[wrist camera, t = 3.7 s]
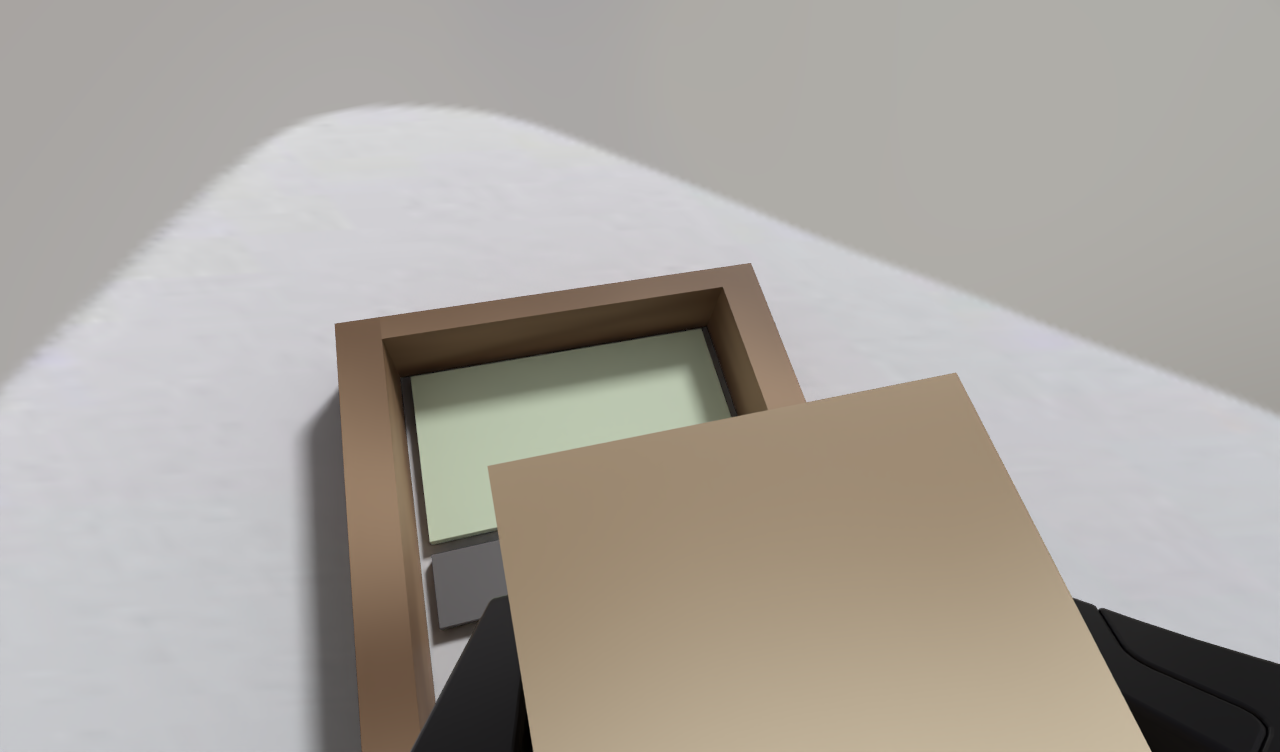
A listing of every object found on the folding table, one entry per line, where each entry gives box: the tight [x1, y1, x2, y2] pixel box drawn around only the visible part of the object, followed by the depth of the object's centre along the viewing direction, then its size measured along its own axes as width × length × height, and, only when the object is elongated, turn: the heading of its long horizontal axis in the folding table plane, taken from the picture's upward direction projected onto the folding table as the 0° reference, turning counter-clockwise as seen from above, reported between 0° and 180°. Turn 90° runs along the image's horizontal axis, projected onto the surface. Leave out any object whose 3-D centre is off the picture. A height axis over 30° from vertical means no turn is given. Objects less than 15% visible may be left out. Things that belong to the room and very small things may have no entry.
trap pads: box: [431, 540, 508, 630], centre depth 14 cm, size 10×8×1 cm
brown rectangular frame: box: [335, 263, 806, 752], centre depth 14 cm, size 16×10×2 cm, turn 15°
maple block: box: [487, 373, 1151, 752], centre depth 9 cm, size 4×4×11 cm
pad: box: [411, 329, 731, 545], centre depth 17 cm, size 4×8×1 cm, turn 105°
